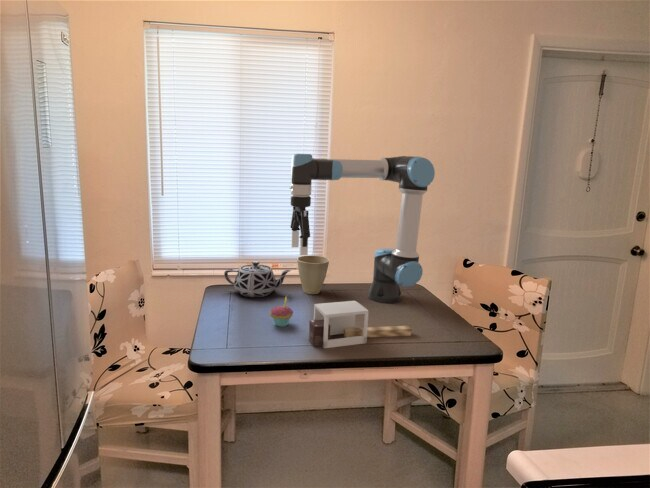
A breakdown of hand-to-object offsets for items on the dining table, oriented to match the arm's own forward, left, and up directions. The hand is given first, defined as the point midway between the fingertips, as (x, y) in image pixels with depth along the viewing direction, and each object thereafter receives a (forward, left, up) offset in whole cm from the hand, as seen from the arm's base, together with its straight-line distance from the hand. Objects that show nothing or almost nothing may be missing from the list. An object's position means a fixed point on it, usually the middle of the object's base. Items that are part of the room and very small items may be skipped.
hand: (299, 251), depth 175 cm
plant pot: (-17, -30, -28) cm, 44 cm away
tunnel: (-8, +24, -27) cm, 37 cm away
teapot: (+8, -34, -28) cm, 45 cm away
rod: (-23, +24, -28) cm, 43 cm away
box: (0, +24, -28) cm, 37 cm away
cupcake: (+8, +5, -28) cm, 29 cm away
